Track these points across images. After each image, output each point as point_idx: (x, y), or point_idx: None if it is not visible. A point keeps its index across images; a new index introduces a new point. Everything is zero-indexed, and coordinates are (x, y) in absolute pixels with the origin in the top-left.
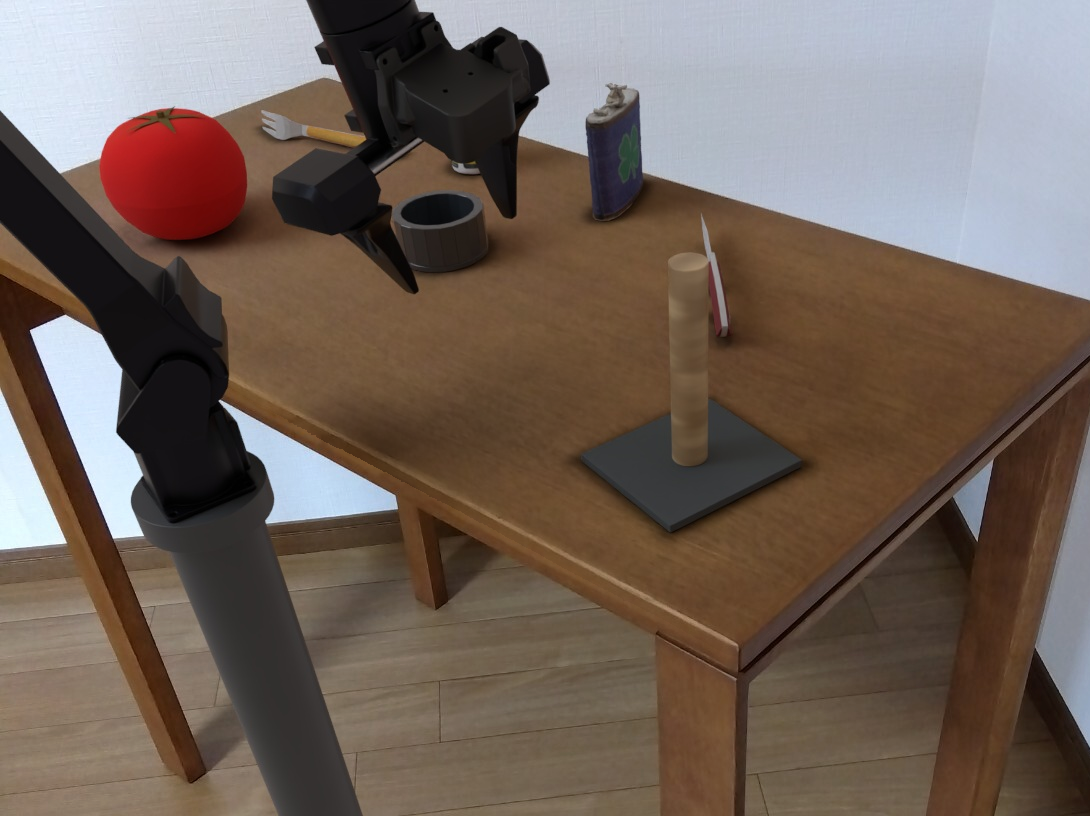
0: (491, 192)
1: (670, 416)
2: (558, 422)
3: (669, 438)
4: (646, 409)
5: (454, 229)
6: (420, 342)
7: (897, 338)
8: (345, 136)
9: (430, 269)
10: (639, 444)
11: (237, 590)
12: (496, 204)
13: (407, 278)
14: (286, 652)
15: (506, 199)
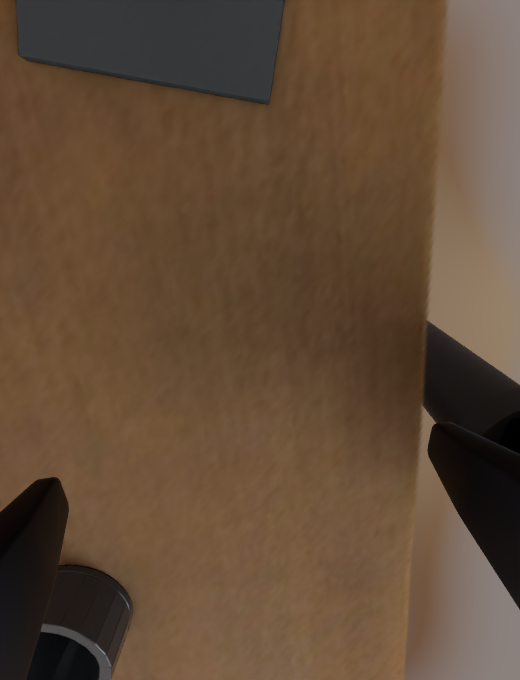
0: (44, 597)
1: (100, 61)
2: (223, 214)
3: (142, 8)
4: (109, 132)
5: (61, 620)
6: (224, 487)
7: None
8: None
9: (118, 587)
10: (188, 39)
11: (502, 374)
12: (58, 551)
13: (500, 448)
14: (439, 341)
15: (29, 533)
